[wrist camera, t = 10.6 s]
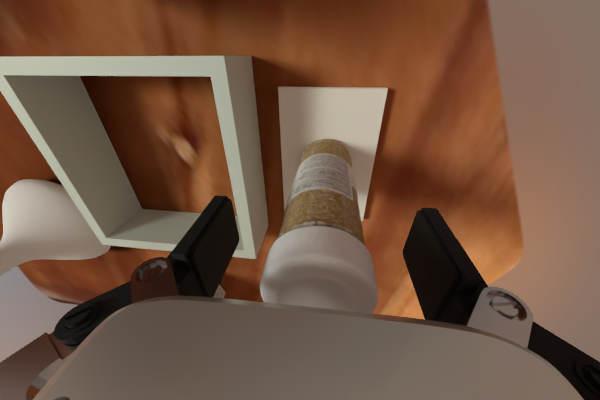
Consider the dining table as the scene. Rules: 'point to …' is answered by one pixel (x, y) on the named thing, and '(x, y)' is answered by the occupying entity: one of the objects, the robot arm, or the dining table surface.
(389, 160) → the dining table surface
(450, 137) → the dining table surface
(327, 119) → the mat
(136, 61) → the open box
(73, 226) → the flower in vase
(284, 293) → the sprinkles bottle
